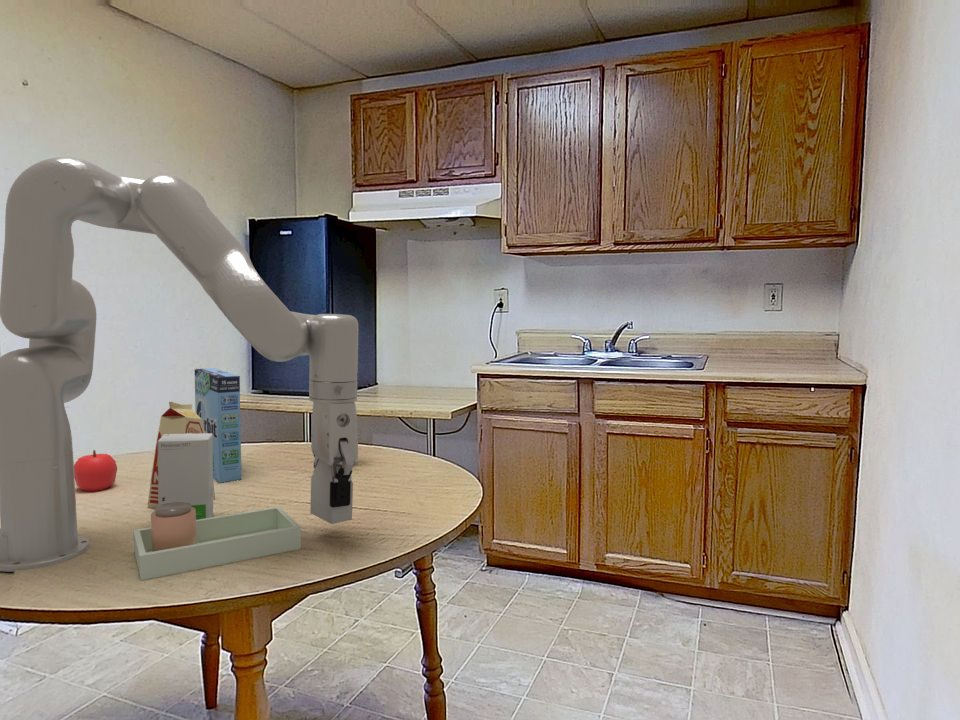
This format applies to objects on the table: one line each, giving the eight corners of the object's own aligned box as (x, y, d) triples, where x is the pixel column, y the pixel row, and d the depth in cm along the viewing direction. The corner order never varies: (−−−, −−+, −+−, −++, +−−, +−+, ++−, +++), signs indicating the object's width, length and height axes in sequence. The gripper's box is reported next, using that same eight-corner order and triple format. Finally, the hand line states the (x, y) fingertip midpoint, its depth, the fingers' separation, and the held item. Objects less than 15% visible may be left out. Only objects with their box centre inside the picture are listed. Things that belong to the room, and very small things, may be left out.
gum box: (196, 465, 155) (192, 369, 153) (219, 462, 158) (215, 367, 156) (219, 483, 139) (215, 376, 137) (243, 479, 142) (240, 375, 140)
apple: (64, 491, 133) (62, 453, 133) (98, 481, 141) (96, 445, 140) (94, 495, 131) (91, 456, 130) (127, 484, 138) (125, 447, 138)
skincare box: (158, 533, 109) (153, 441, 108) (165, 520, 116) (161, 433, 114) (211, 528, 112) (208, 438, 110) (216, 516, 118) (212, 431, 117)
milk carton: (189, 511, 121) (185, 404, 119) (145, 508, 123) (140, 402, 121) (218, 497, 130) (215, 396, 128) (177, 494, 132) (173, 395, 130)
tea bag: (331, 524, 103) (333, 461, 102) (310, 513, 108) (311, 453, 107) (352, 519, 106) (353, 458, 105) (330, 509, 110) (331, 450, 110)
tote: (141, 584, 90) (139, 556, 89) (134, 555, 100) (133, 530, 99) (301, 552, 101) (300, 527, 101) (280, 529, 111) (279, 506, 111)
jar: (154, 569, 93) (152, 515, 92) (150, 555, 98) (148, 504, 98) (200, 560, 96) (198, 508, 96) (194, 547, 101) (192, 498, 101)
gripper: (376, 397, 100) (373, 511, 101) (337, 383, 114) (335, 483, 116) (328, 399, 96) (326, 518, 97) (294, 385, 110) (293, 488, 112)
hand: (331, 498), depth 106 cm, fingers closed on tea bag, 7 cm apart
